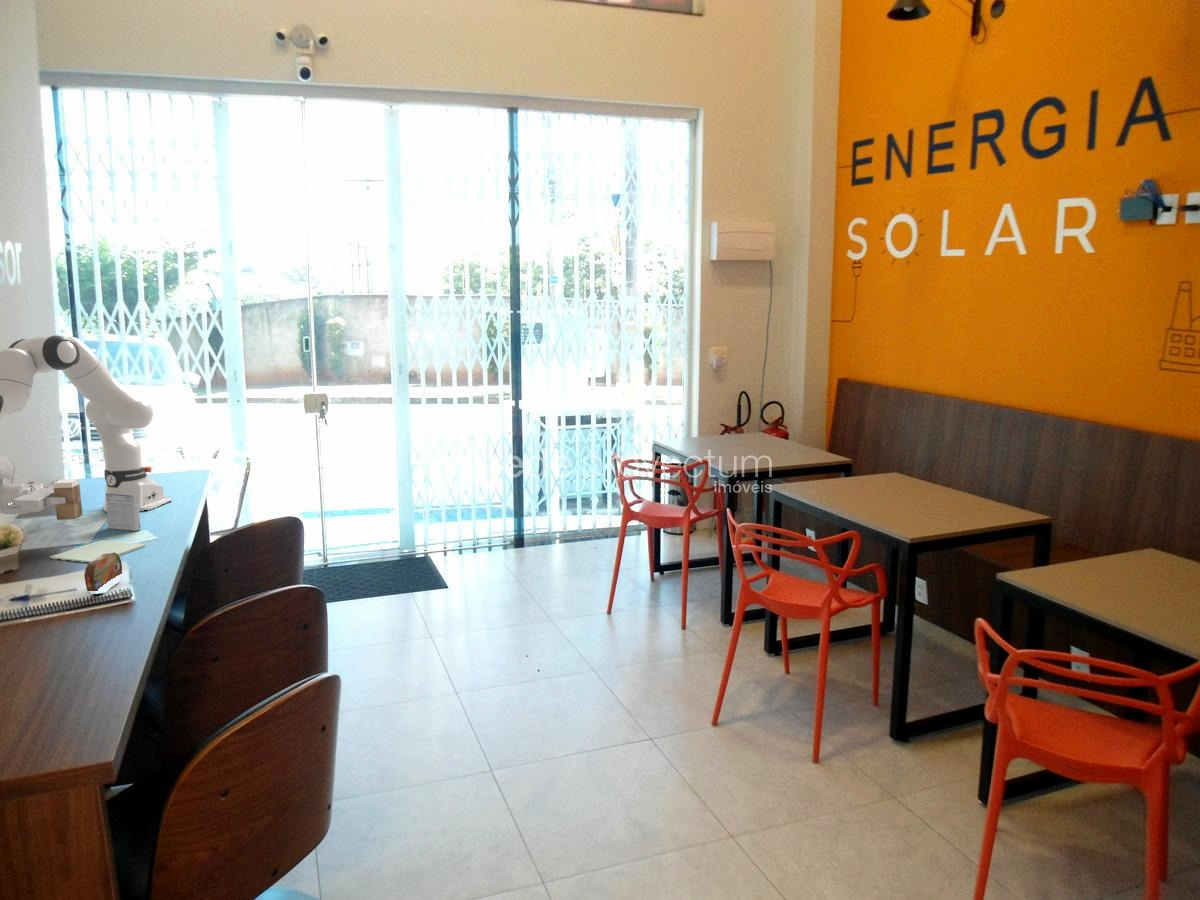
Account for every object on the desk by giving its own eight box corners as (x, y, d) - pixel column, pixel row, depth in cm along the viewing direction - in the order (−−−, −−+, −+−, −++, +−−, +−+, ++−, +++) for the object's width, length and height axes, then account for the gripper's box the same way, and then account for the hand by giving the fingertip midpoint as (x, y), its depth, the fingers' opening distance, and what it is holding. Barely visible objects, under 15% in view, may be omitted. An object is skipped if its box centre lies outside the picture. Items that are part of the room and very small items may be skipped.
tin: (97, 599, 219) (94, 566, 217) (83, 599, 219) (80, 566, 217) (124, 579, 234) (121, 548, 232) (111, 579, 233) (109, 548, 232)
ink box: (141, 530, 282) (138, 494, 280) (135, 531, 280) (132, 495, 278) (113, 526, 285) (110, 491, 283) (107, 528, 283) (104, 492, 281)
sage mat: (101, 541, 268) (101, 540, 268) (145, 546, 263) (145, 544, 263) (49, 558, 251) (49, 556, 251) (95, 563, 246) (95, 561, 246)
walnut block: (64, 515, 264) (60, 479, 262) (82, 515, 265) (78, 478, 263) (57, 519, 260) (53, 483, 258) (75, 519, 260) (71, 482, 258)
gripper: (0, 496, 249) (54, 495, 251) (34, 480, 268) (84, 479, 271) (3, 518, 250) (56, 516, 252) (36, 501, 270) (86, 499, 272)
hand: (71, 497), depth 261 cm, fingers closed on walnut block, 5 cm apart
